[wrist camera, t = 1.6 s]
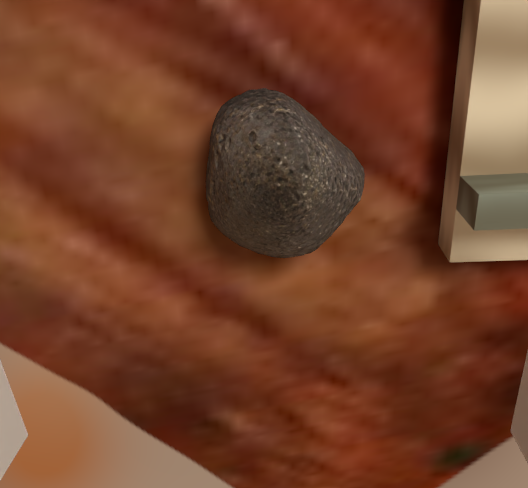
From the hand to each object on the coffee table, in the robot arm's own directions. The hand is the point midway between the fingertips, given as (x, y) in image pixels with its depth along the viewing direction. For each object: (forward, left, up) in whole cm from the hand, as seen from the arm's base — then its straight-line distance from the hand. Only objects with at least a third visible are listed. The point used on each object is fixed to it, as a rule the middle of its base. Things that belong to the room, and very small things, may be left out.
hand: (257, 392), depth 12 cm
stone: (0, 0, -20) cm, 20 cm away
